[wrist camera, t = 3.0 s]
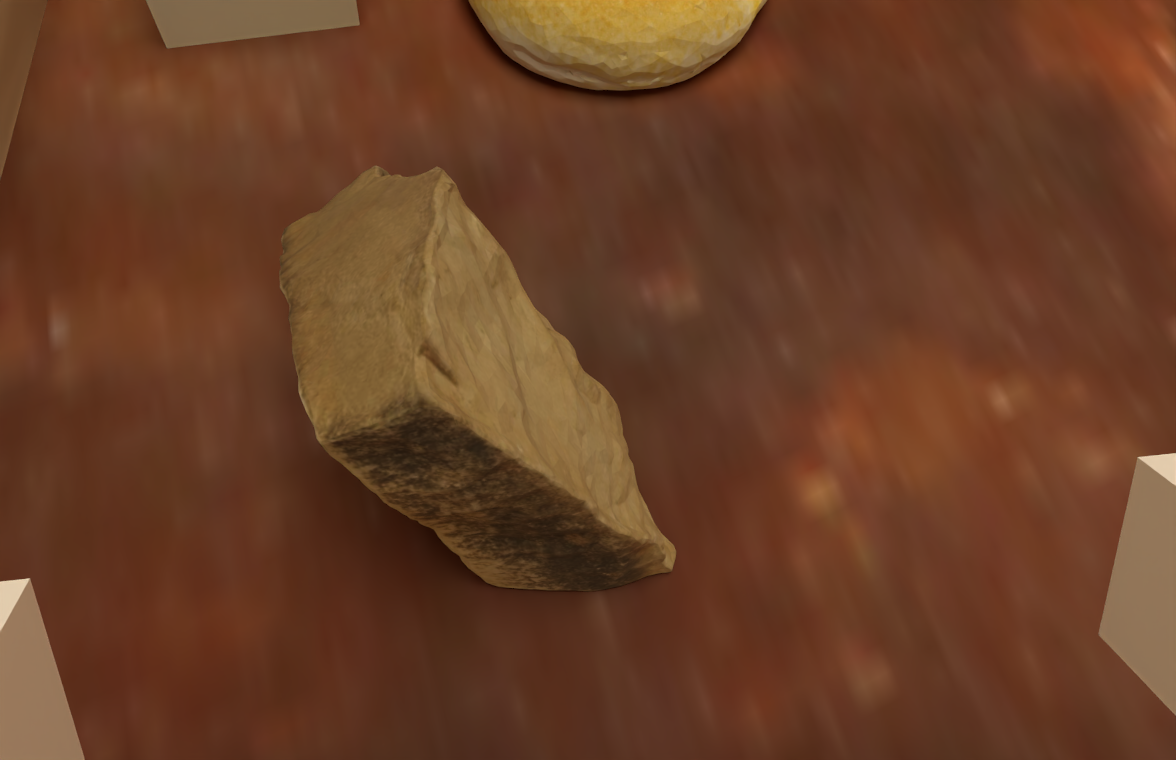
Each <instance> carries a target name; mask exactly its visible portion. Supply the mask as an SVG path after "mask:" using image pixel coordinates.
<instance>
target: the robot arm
mask: <svg viewBox="0 0 1176 760" xmlns="http://www.w3.org/2000/svg"><path fill="white" fill-rule="evenodd" d="M1098 635H1099V636H1100V637H1101V638H1102V639H1103V640H1104V641H1105V642H1106V643H1107V644H1108V645H1109V646H1110V647H1111V648H1112V649H1113V650H1114V651H1115V652H1116V653H1117V654H1118V656H1119V657H1120V658H1121V659H1122V660H1123V661H1124V662H1125V663H1126V664H1127V665H1128V666H1129V667H1130V668H1131V669H1132V670H1133V671H1134V672H1135V673H1136V674H1137V675H1138V677H1139V678H1140V679H1141V680H1142V681H1143V682H1144V683H1145V684H1146V685H1147V686H1148V687H1149V688H1150V689H1151V690H1152V691H1153V692H1154V693H1155V694H1156V695H1157V696H1158V698H1159V699H1160V700H1161V701H1162V702H1163V703H1164V704H1165V705H1166V706H1167V707H1168V708H1169V709H1170V710H1171V711H1172V712H1173V713H1174V714H1175V715H1176V453H1173V454H1164V455H1155V456H1146V457H1138V459H1137V463H1136V468H1135V472H1134V477H1133V481H1132V486H1131V490H1130V495H1129V499H1128V504H1127V508H1126V513H1125V517H1124V522H1123V526H1122V531H1121V535H1120V540H1119V544H1118V549H1117V553H1116V558H1115V562H1114V567H1113V571H1112V576H1111V580H1110V585H1109V589H1108V594H1107V598H1106V603H1105V607H1104V612H1103V616H1102V621H1101V625H1100V630H1099V634H1098ZM0 760H85V758H84V755H83V752H82V749H81V745H80V742H79V739H78V735H77V732H76V729H75V725H74V722H73V719H72V716H71V712H70V709H69V706H68V702H67V699H66V696H65V693H64V689H63V686H62V683H61V679H60V676H59V673H58V669H57V666H56V663H55V660H54V656H53V653H52V650H51V646H50V643H49V640H48V636H47V633H46V630H45V627H44V623H43V620H42V617H41V613H40V610H39V607H38V604H37V600H36V597H35V594H34V590H33V587H32V584H31V580H30V579H21V580H11V581H2V582H0Z"/></svg>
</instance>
